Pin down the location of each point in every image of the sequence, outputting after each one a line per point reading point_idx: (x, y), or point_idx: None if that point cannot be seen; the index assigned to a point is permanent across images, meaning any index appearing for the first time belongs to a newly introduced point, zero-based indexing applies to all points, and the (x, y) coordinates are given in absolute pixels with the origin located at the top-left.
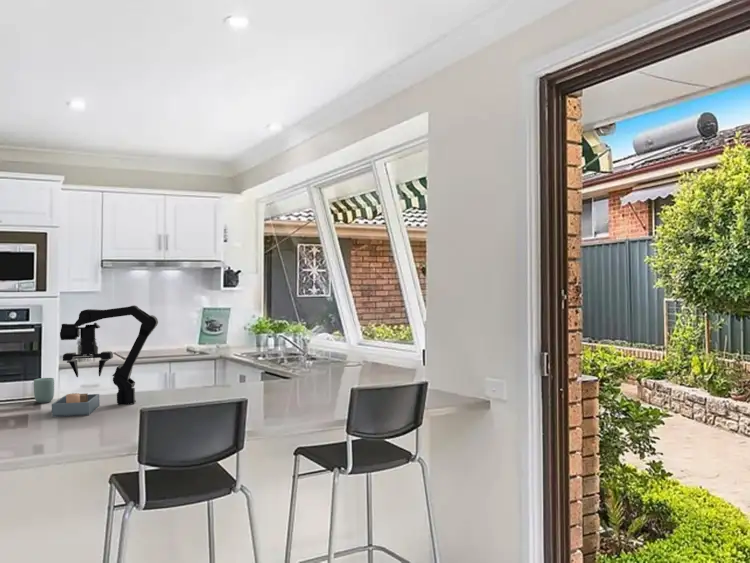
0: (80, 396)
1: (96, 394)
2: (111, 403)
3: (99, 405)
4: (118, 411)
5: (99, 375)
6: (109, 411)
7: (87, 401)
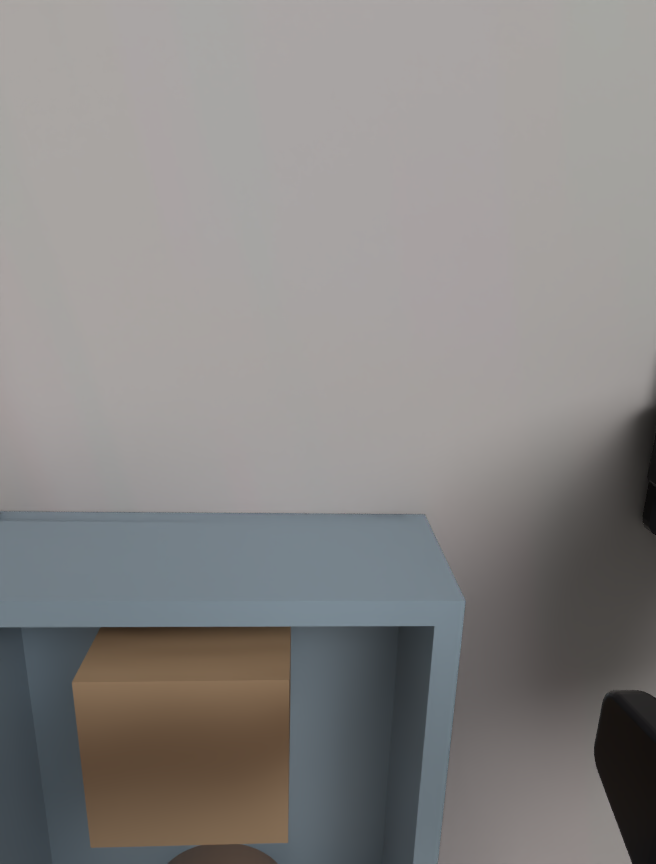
0: (224, 832)
1: (422, 623)
2: (560, 366)
3: (425, 522)
4: None
5: (629, 795)
6: (561, 830)
7: None
